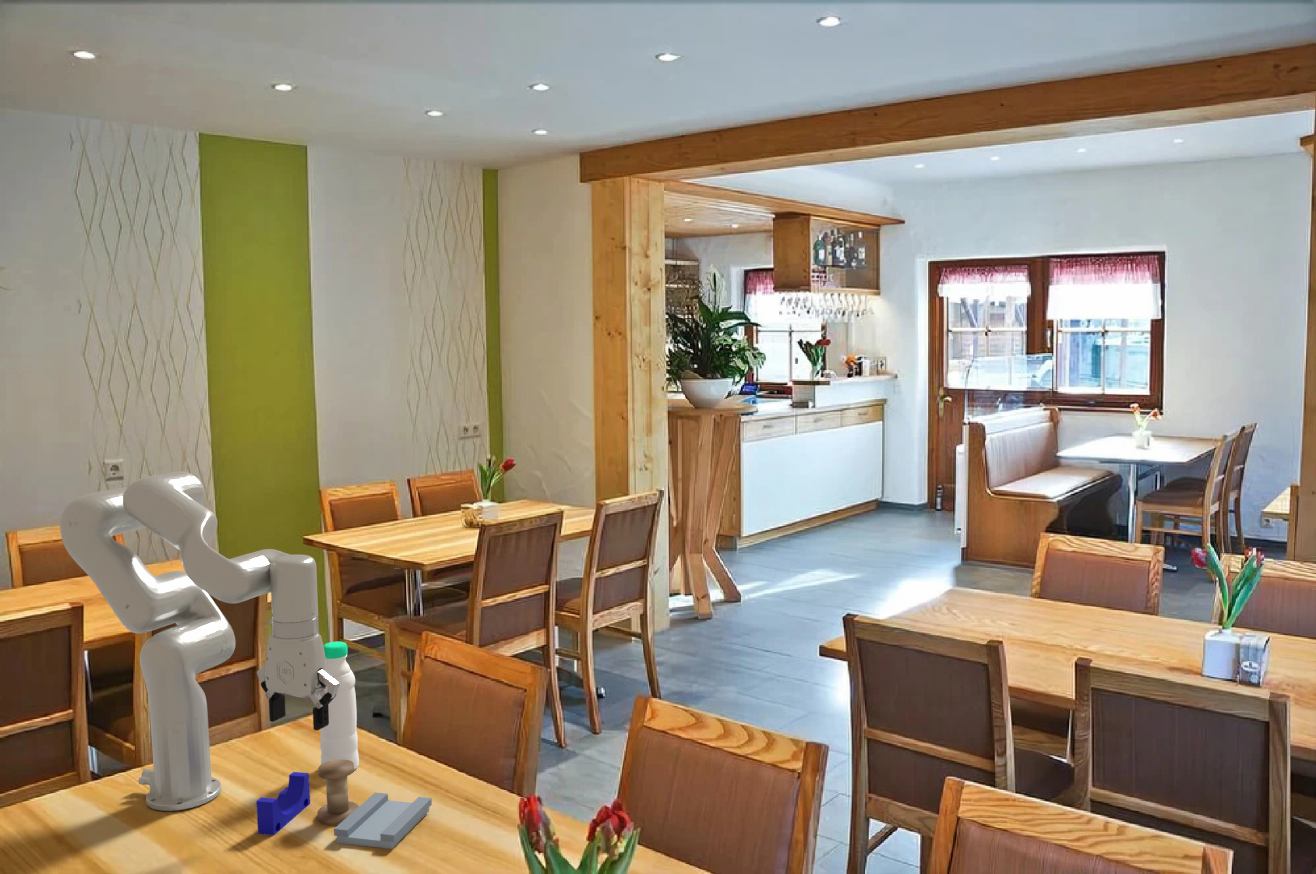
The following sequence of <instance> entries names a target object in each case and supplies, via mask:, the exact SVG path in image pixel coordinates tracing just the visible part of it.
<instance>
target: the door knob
mask: <svg viewBox="0 0 1316 874" xmlns="http://www.w3.org/2000/svg"><path fill="white" fill-rule="evenodd" d="M317 769H318V770H317V772H318V777H320V779H324V780H325V786H326V788H325V789H326V791H325V792H326V804H325V805H323V806H321V807H320V808H319V809H318V810H317V815H316V816H317V821H318V822H319V823H320V824H323V825H327V826H335V825H337V826H338V825H339V824H340V823H341V822H342V821H343V820H344V819H346V818H347V817H348V816H349V815H350V814H351V813H352V812H354V811H355V810H356V809H357V808H358V807H359V806H360V805H358V804H357V803H356V802H353V801H349V784H348V782H349V781H348V776H351V774H353V773H354V772H355V770H354V763H353V762H352V761H350V760H343V759H340V760H332V761H328V762H325V763H323V764H322V765H321V764H320V765H319V766H318V768H317Z"/></svg>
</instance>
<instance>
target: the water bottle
mask: <svg viewBox="0 0 1316 874" xmlns="http://www.w3.org/2000/svg"><path fill="white" fill-rule="evenodd" d="M323 646H324V652H325V659H326V669H327V673H328V674H329V675H330V676H331V677H333V678H334V679H335V680H337V681H338V682H339V684H340V686H339V688H338V691H337V693H336V697H335V698H334V699H333V700H332V702H331V703H330V704H328V708H329V724H328V726H326V727H324V728H322V729H320V730H319V731H320V738H319V743H320V745H319V746H320V751H321V755H320V765H322V764H323V763H325V762H328V761H332V760H340V759H343V760H350V761H352V762H353V763H354V771H355V770H356V769H357V768H359V764H360V755H359V749H358V744H359V738H358V732H357V726H358V725H357V723H358V722H357V720H358V719H357V718H358V716H357V698H356V689H355V685H356V678H355V674H354V672H353V671H352V669H351V668H350V665H349V663H348V662H347V660H346V659H347V657H348V648H349V647H348V645H347V642H343V641H331V642H330V641H329V642H327V643H325V644H323ZM325 689H326V691H327V689H328V688H327V686H326V688H325ZM317 695H318V697H319V698H320V699H321V698H322V697H321V696H320V694H319V693H317Z"/></svg>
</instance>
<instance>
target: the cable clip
mask: <svg viewBox="0 0 1316 874" xmlns="http://www.w3.org/2000/svg"><path fill="white" fill-rule="evenodd" d="M310 791H311V790H310V774H309V772H302V771H301V772H299V771H293V772H291V773H290V774H289V775H288V786H287V787H285V788H284V789H282V790H281V791H280V792H279V793H278V794H277V798H274V797H273V798H271V797H260V798H259V799H257V800H255V803H256V817H257V818H256V819H257V821H256V823H257V834H258V835H266V836H275V835H276V834H278V833H279V832H280V831H281V830H283V828H284V827H285V826H287V825H288V824H289V823H290V822H292V820H294V819H295V818H296V817H297V816H298V815H299V814H300V813H302V812H303V811H304V810H305V809H307V807H308V806H309V805H311V793H310Z"/></svg>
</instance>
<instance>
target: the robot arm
mask: <svg viewBox="0 0 1316 874" xmlns="http://www.w3.org/2000/svg"><path fill="white" fill-rule="evenodd" d="M205 501H206V489H205V487H204V485H203V483H202V481H201V480H200V479H199V478H198V477H196V475H194V474H192V473H190V472H187V471H183V470H181V471H180V470H178V471H171V472H166V473H165V472H164V473H159V474H154V475H147V476H145V477H141V478H138V479H136V480H135V481H133V482H132V483H130V484H129V485H128V486H124V487H119V488H113V489H106V490H100V491H96V492H90V493H88V494H84V495H82V496H79V497H77V498H75V499H74V500H72V501H70V502H69V503H68V504H67V505H66V506H65V507H64V509H63V510H62V512H61V515H60V522H59V530H60V536H61V541H62V544H63V546H64V548H65V549H66V551H67V553H68V555H69V556H70V557H71V558H72V559H73V561H74V562H75V563H76V564H77V565H78V566H79V567H80V568H81V569H82V570H83V572H85V574H86V575H87V576H88V577H89V578H90V580H92V582H93V583H94V585H95V586H96V587H97V589H98V591H99V593H100V594H101V596H102V597H103V598H104V600H105V601H106V603H107V604H108V606H109V607H110V608H111V610H112V611H113V613H114V614H115V616H116V617H117V618H118V620H119V621H120V623H121V624H122V625H123V626H124V628H125V629H126V630H128V631H129V632H130V633H131V632H132V633H133V634H144V633H148V632H152V631H155V630H158V629H161V628H164V627H167V626H169V625H173V624H175V626H172V627H170V628H166V629H163V630H162V631H159V632H158V633H156V634H154V635H153V636H151V637H150V638H149V639H148V640H146V641H145V643H144V644H143V646H142V648H141V650H140V653H139V664H140V668H141V669H140V670H141V672H142V676H143V679H144V682H145V686H146V691H147V698H148V699H147V700H148V707H149V709H148V710H149V720H150V734H151V748H152V749H151V750H152V764H153V769H151V768H144V769H143V770H142V772H141V776H140V777H138V781H137V783H138V784H139V785H143V786H147V785H148V786H149V791H148V793H146V797H145V800H146V801H145V802H146V805H147V806H148V807H149V808H151V809H153V810H157V811H161V812H162V811H163V812H164V811H165V812H168V811H169V812H173V811H181V810H188V809H192V808H196V807H198V806H201V805H203V804H206V803H208V802H211V801H212V800H215V798H216V797H218V796H219V794H220V793H221V791H222V784H221V782H220V780H218V779H217V778H215V777H212V764H211V763H212V762H211V749H210V748H211V747H210V746H211V745H210V733H209V717H208V715H209V714H208V713H209V712H208V703H207V698H206V694H205V692H204V690H203V689H202V687H201V686H200V684H199V683H198V681H197V680H196V676H197V675H199V674H200V673H202V672H205V671H207V670H209V669H212V668H214V667H217V666H218V665H220V664H223V663H224V662H226V661H228V660H229V659H230V658H231V657H232V655H233V654H234V651H235V648H236V637H235V633H234V630H233V628H232V626H231V624H230V623H229V621H228V619H227V618H226V616H225V614H223V612H222V611H221V610H220V608H219V607H218V605H217V604H216V602H215V601H214V599H216V600H217V601H221V602H223V603H227V604H239V603H243V602H245V601H248V600H250V599H253V598H256V597H259V596H264V595H266V594H267V595H268V594H270V597H271V598H270V599H271V600H270V601H271V618H269V624H270V626H272V633H270V634H269V636H268V640H267V644H266V645H267V646H266V654H265V667H262V668H260V669H258V670H257V671H256V675H257V678H258V679H259V682H260V687H261V688H262V689H263V691H264V693H265V698H266V699H267V700H268V710H269V711H268V714H269V721H270V722H273V723H274V722H275V721H278V720H279V719H280V720H281V719H282V718H284V717H286V696H285V695H287V696H291V697H297V698H303V699H304V698H306V699H307V698H309V699H310V700H311V701H312V703H313V705H314V706H315V707H312V725H313V726H312V727H313V730H314V731H317V732H318V731H320V729H322V728H324V727H326V726H328V724H329V708H328V704H330V703H331V702H332V700H333V699H334V698H335V697H336V693H337V691H338V688H339V686H340V684H339V682H338V681H337V680H335V679H334V678H333V677H331V676H330V675H329V674H328V673H327V669H326V659H325V652H324V646H323V645H324V643H323V639H322V638H323V637H322V635H321V634H320V631H319V630H320V629H319V626H320V625H319V603H318V602H319V601H318V599H319V598H318V597H319V596H318V576H317V575H318V574H317V563H316V561H315V559H314V557H312V556H310V555H307V554H290V553H286V552H283V551H281V550H277V549H273V548H264V549H260V550H257V551H254V552H250V553H246V554H242V555H239V556H235V557H232V558H227V557H225V556H224V555H222V554H221V553H219V552H218V551H216V550H215V549H213V547H211V546H209V544H210V542H212V541H211V540H213V537H214V536H215V533H216V532H217V529H218V518H217V516H216V514H215V513H214V512H213V511H212V510H210V509H208V508H207V507H205V506H204V504H205ZM144 529H148V530H149V531H150V532H151V533H153V534H155V535H156V536H158V537H159V538H161V539H163V540H164V541H165V542H167V544H170V545H171V546H173V547H174V548H175V549H177V550H178V551H179V560H180V563H181V565H182V567H183V570H184V571H180V570H175V571H174V570H173V571H169V572H164V573H160V574H158V575H155V574H152V572H150V571H149V569H148V568H147V567H146V565H145V564H144V562H143V561H142V560H141V558H140V557H139V556H138V555H137V554H136V553H135V552H134V551H133V550H132V549H130V548H129V547H127V546H125V545H124V544H122V543H120V542H118V541H116V540H115V539H114V538H113V536H117V535H123V534H127V533H130V532H136V531H140V530H144ZM213 598H214V599H213ZM326 686H327V688H328V689H327V691H326V689H325V688H326ZM318 693H319V694H320V696H321V697H322V698H321V699H320V698H319V697H318Z"/></svg>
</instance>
